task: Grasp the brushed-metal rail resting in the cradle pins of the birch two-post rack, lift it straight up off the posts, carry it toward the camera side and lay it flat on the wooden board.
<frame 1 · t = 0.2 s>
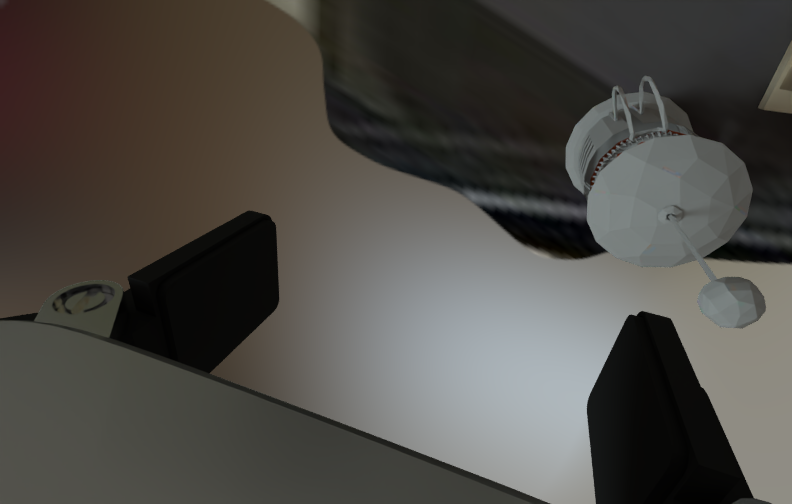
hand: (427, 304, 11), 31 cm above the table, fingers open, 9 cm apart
french press: (624, 142, 35), on the table
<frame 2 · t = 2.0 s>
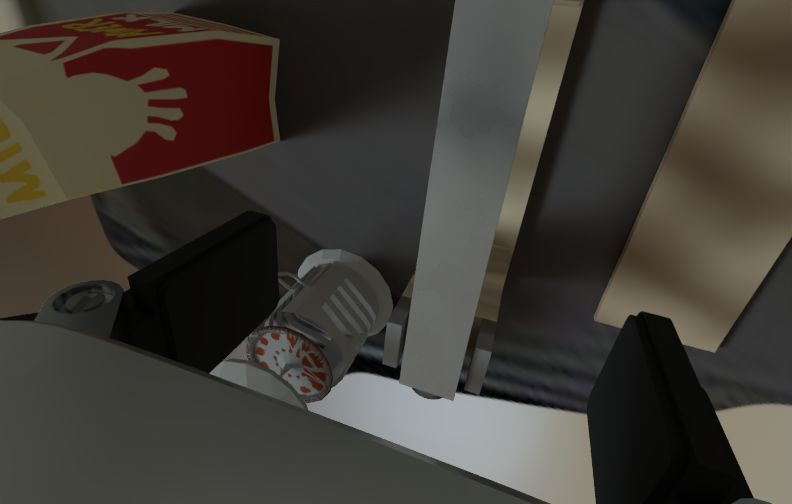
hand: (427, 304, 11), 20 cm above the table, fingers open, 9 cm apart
rail: (474, 179, 19), point 10 cm above the table, touching rack
rack: (497, 134, 27), on the table
milk carton: (231, 87, 32), on the table
french press: (340, 286, 38), on the table
wooden board: (734, 175, 24), on the table
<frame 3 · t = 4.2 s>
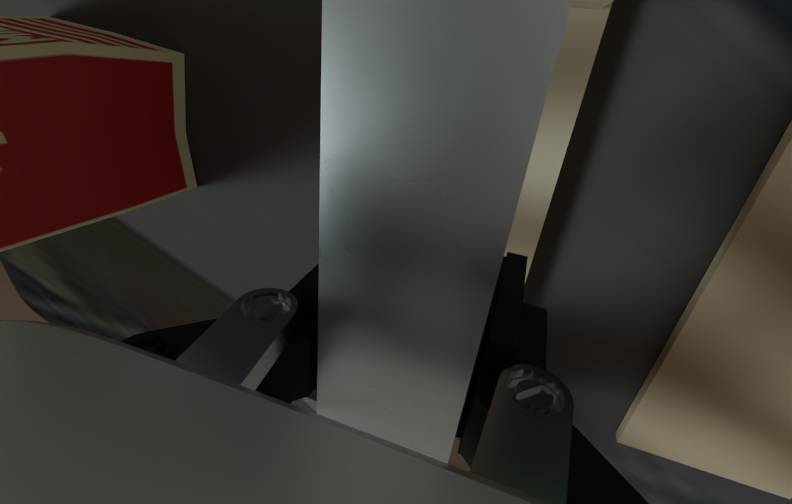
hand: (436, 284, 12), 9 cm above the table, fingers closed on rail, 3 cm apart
rail: (425, 308, 11), point 10 cm above the table, touching gripper, rack
rack: (481, 191, 19), on the table
milk carton: (132, 116, 24), on the table
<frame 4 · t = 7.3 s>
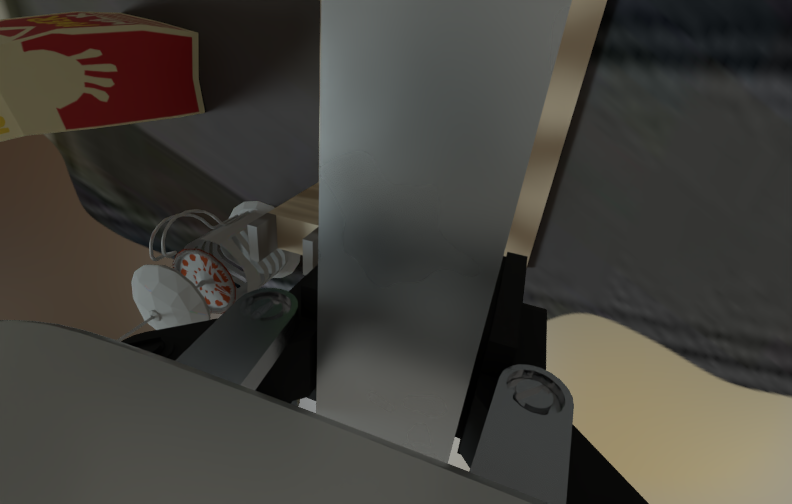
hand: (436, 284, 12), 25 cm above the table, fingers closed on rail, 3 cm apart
rail: (424, 310, 11), point 27 cm above the table, touching gripper
rack: (355, 103, 36), on the table
milk carton: (167, 71, 41), on the table
french press: (261, 233, 47), on the table
wooden board: (513, 129, 33), on the table
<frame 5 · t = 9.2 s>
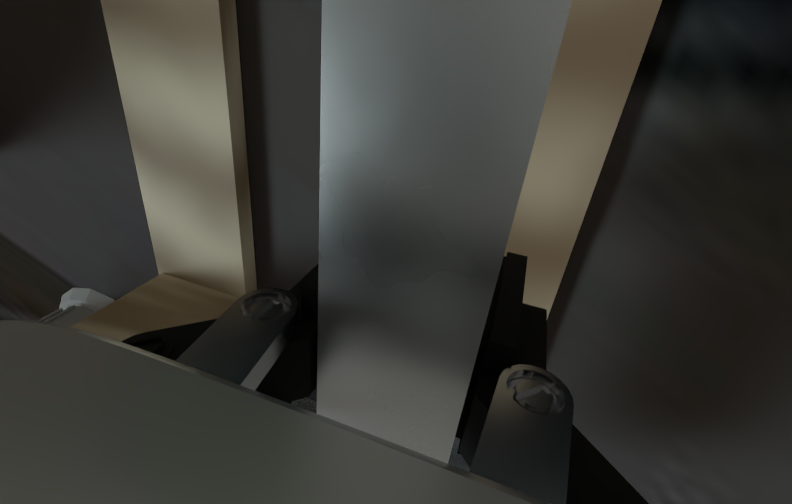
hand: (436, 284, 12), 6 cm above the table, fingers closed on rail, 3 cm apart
rail: (424, 311, 11), point 7 cm above the table, touching gripper
rack: (195, 150, 20), on the table
french press: (107, 331, 31), on the table
wooden board: (473, 212, 17), on the table
when the fingers open (2 cm above the table, at t = 10.8 s): rail drops 2 cm, resting on wooden board.
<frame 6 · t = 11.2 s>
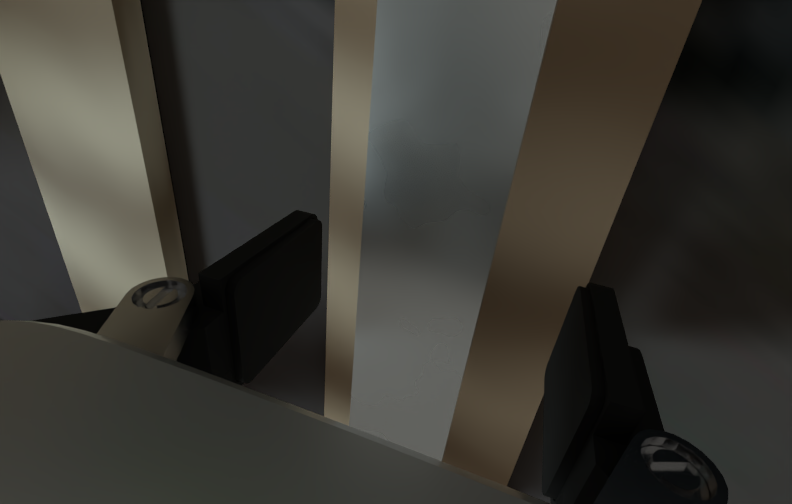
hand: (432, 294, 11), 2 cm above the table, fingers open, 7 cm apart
rail: (440, 264, 13), point 1 cm above the table, touching wooden board
rack: (112, 172, 16), on the table
wooden board: (449, 257, 13), on the table
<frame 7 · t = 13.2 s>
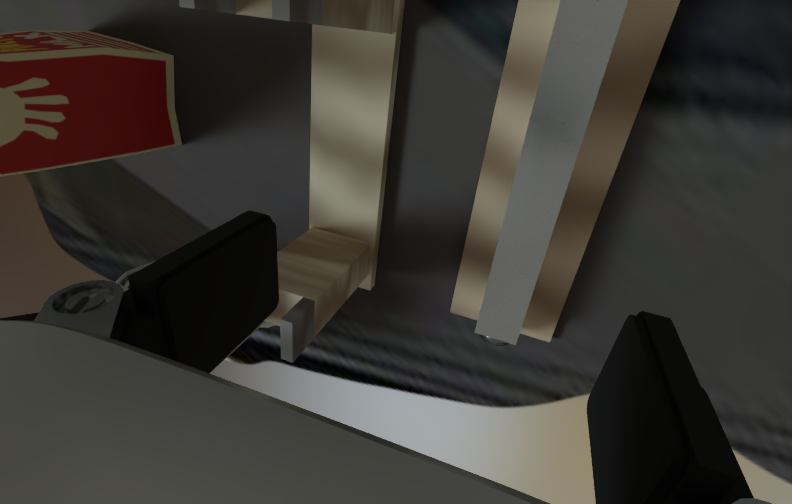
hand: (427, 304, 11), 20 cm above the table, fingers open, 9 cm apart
rail: (538, 182, 27), point 1 cm above the table, touching wooden board
rack: (352, 141, 31), on the table
milk carton: (140, 96, 36), on the table
wooden board: (541, 181, 27), on the table
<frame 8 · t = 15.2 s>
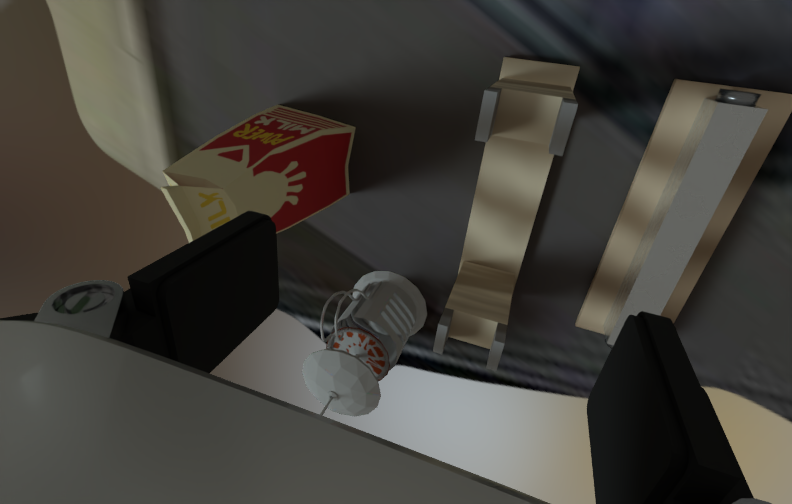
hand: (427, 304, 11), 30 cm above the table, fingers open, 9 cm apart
rail: (664, 232, 36), point 1 cm above the table, touching wooden board
rack: (507, 196, 39), on the table
milk carton: (315, 155, 45), on the table
french press: (386, 298, 50), on the table
wooden board: (665, 230, 36), on the table
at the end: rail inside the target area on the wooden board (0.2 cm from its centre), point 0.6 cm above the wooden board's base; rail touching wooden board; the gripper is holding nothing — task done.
